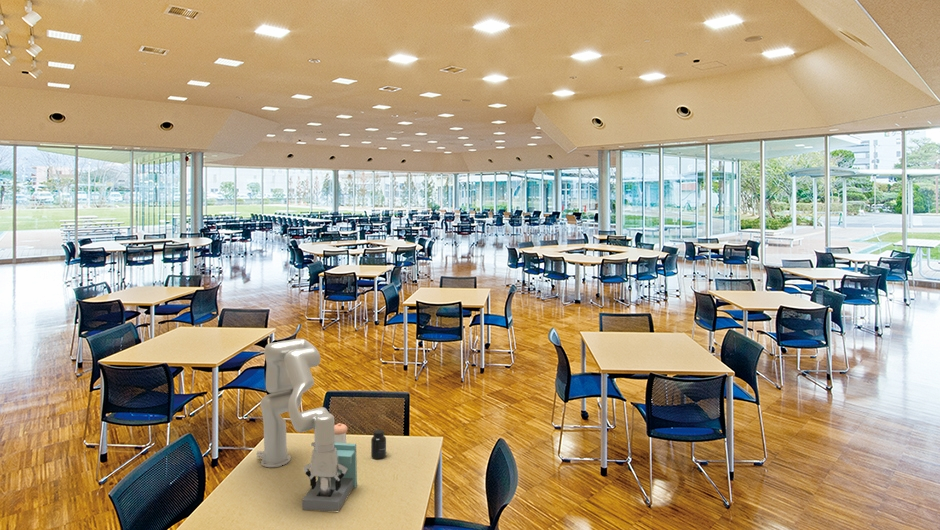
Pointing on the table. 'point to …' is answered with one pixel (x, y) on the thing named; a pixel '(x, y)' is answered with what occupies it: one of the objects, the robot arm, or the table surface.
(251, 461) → the table surface
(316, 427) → the robot arm
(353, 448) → the socket stand
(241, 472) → the table surface
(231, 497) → the table surface
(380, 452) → the supplement bottle
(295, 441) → the table surface
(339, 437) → the salt shaker
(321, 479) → the peg
